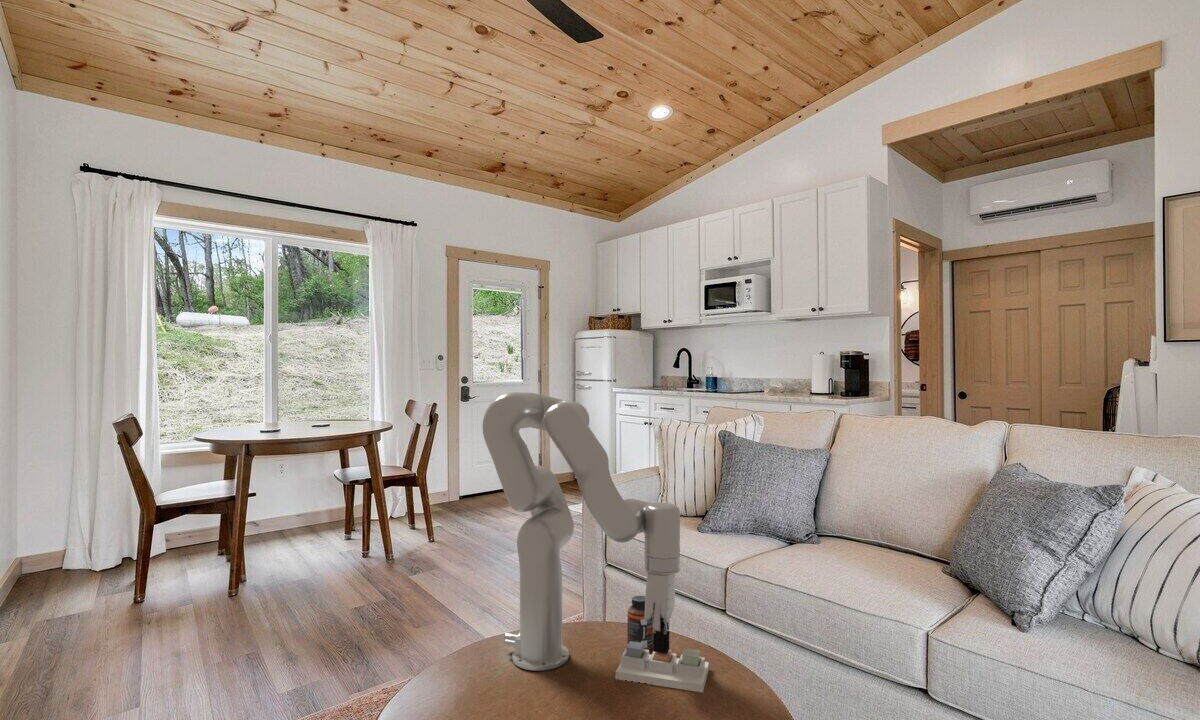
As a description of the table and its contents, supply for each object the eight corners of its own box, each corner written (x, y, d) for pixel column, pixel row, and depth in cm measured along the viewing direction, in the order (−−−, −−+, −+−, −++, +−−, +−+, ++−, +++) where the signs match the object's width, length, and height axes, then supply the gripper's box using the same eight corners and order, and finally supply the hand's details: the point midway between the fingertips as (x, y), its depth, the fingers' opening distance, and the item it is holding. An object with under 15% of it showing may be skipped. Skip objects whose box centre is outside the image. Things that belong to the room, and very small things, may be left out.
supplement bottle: (651, 654, 131) (651, 603, 131) (625, 652, 132) (625, 601, 132) (654, 643, 136) (654, 594, 137) (629, 641, 138) (629, 592, 138)
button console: (615, 679, 119) (615, 661, 120) (627, 657, 129) (627, 641, 129) (702, 692, 114) (702, 674, 114) (708, 669, 124) (708, 652, 124)
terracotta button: (653, 666, 120) (653, 654, 121) (656, 659, 124) (656, 648, 124) (669, 668, 120) (668, 656, 120) (671, 661, 123) (671, 650, 123)
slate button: (626, 658, 122) (626, 647, 122) (629, 652, 125) (629, 641, 125) (640, 661, 121) (640, 649, 122) (644, 654, 124) (644, 643, 125)
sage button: (682, 667, 119) (682, 655, 119) (684, 660, 122) (684, 648, 122) (698, 669, 118) (697, 657, 118) (700, 662, 121) (699, 650, 121)
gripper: (652, 551, 131) (651, 634, 130) (636, 571, 117) (635, 664, 116) (685, 555, 129) (684, 639, 128) (673, 575, 115) (672, 669, 114)
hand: (661, 650), depth 122 cm, fingers closed
